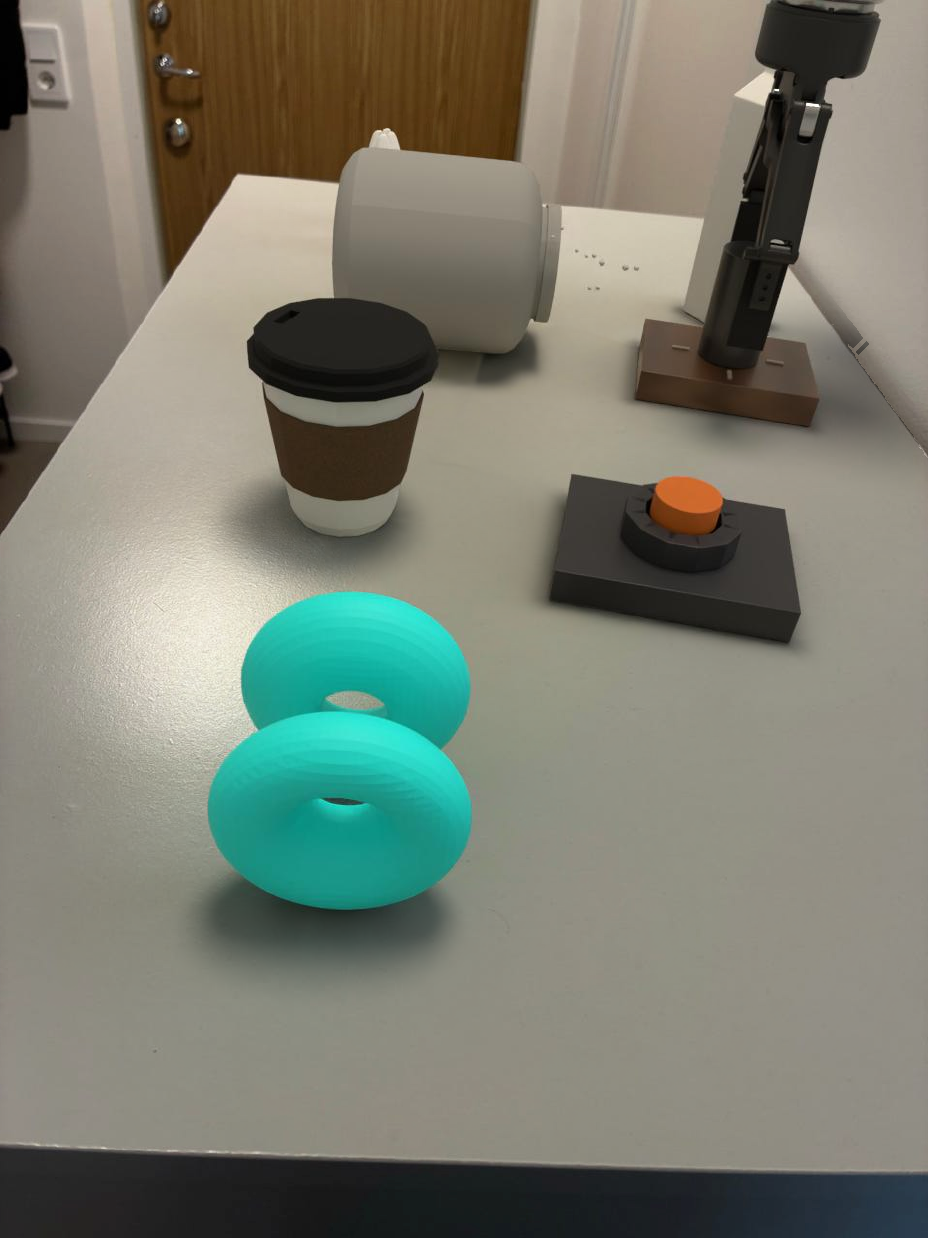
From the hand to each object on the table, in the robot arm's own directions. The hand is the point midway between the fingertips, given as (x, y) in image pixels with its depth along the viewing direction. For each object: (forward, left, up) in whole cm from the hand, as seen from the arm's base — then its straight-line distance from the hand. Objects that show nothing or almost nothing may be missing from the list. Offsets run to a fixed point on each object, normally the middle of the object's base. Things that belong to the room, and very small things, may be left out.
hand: (739, 313), depth 76 cm
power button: (+4, +28, -2) cm, 28 cm away
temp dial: (0, 0, -4) cm, 4 cm away
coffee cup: (+25, +28, -6) cm, 38 cm away
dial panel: (0, 0, -6) cm, 6 cm away
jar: (+21, -2, -6) cm, 22 cm away
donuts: (+18, +52, -6) cm, 55 cm away
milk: (-1, -15, -6) cm, 16 cm away
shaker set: (+35, -22, -6) cm, 42 cm away
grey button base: (+4, +28, -6) cm, 29 cm away
